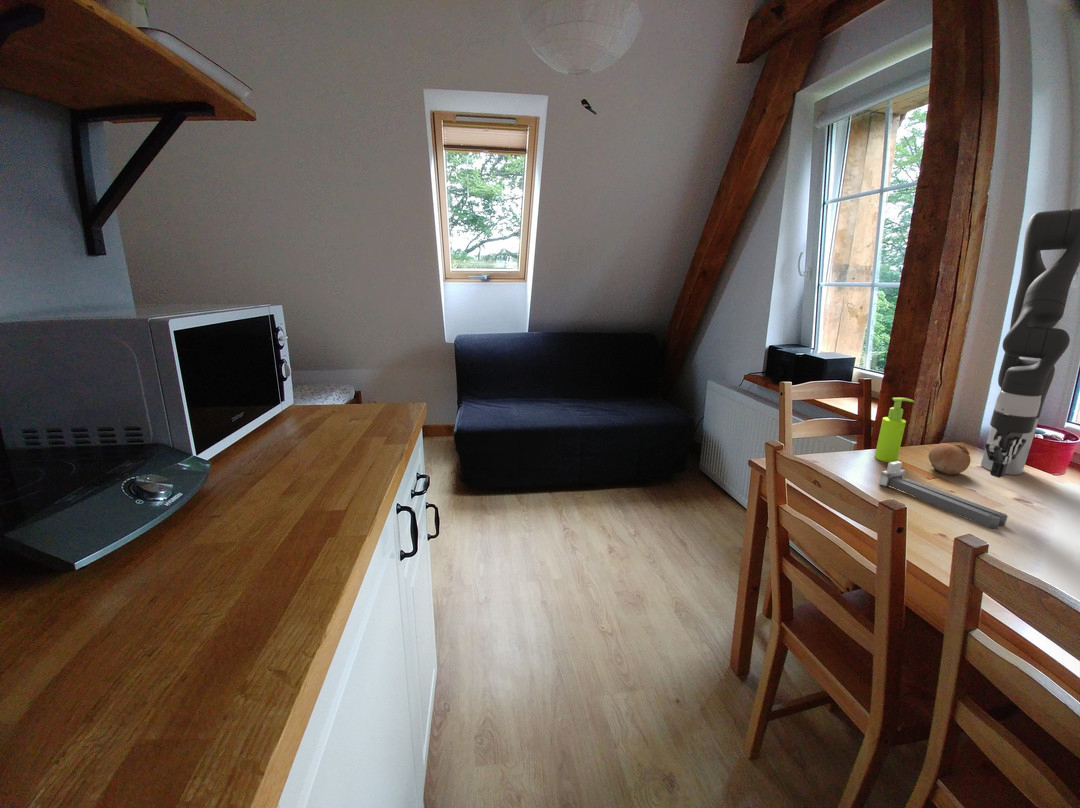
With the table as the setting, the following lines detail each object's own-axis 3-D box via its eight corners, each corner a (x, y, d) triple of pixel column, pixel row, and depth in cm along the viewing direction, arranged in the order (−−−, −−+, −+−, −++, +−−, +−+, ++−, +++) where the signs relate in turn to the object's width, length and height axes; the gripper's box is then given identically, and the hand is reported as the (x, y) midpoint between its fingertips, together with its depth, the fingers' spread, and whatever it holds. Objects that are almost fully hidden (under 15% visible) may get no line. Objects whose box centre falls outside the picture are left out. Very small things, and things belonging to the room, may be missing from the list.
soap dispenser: (904, 463, 149) (918, 401, 143) (879, 461, 150) (893, 400, 145) (895, 456, 155) (908, 396, 149) (871, 454, 156) (883, 395, 150)
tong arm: (901, 486, 133) (902, 479, 132) (905, 485, 133) (907, 478, 133) (1002, 525, 113) (1004, 517, 112) (1006, 524, 114) (1009, 515, 113)
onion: (957, 482, 143) (983, 456, 139) (948, 481, 138) (976, 454, 134) (925, 461, 150) (950, 436, 146) (915, 459, 144) (941, 433, 140)
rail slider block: (878, 483, 134) (883, 463, 133) (895, 479, 137) (899, 459, 135) (886, 486, 133) (890, 465, 131) (902, 482, 135) (907, 462, 133)
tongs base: (880, 483, 135) (881, 475, 134) (890, 480, 137) (892, 472, 136) (994, 529, 112) (997, 519, 111) (1005, 525, 113) (1008, 516, 113)
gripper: (1011, 402, 121) (993, 465, 126) (980, 409, 117) (963, 475, 122) (1051, 411, 115) (1030, 477, 120) (1019, 418, 110) (999, 487, 115)
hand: (996, 475), depth 121 cm, fingers closed
